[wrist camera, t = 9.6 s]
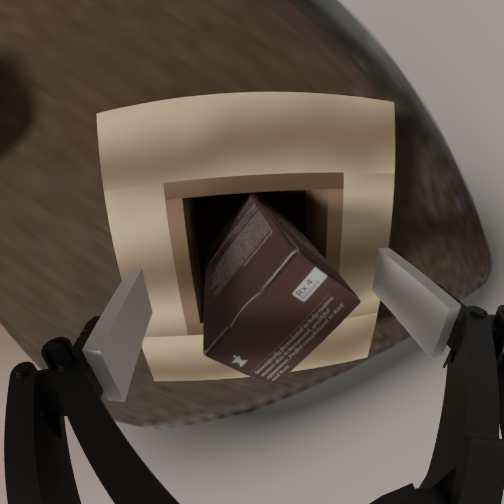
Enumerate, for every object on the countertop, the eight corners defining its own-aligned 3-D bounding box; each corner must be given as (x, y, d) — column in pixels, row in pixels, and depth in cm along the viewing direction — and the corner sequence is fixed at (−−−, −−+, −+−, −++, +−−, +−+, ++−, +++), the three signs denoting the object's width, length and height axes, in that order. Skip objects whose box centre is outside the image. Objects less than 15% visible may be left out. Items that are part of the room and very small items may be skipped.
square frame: (123, 118, 18) (96, 113, 13) (360, 107, 19) (393, 102, 14) (162, 343, 25) (154, 381, 21) (347, 324, 27) (367, 357, 22)
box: (250, 278, 24) (273, 391, 12) (204, 248, 22) (191, 353, 11) (297, 222, 22) (367, 303, 11) (253, 186, 21) (289, 241, 10)
